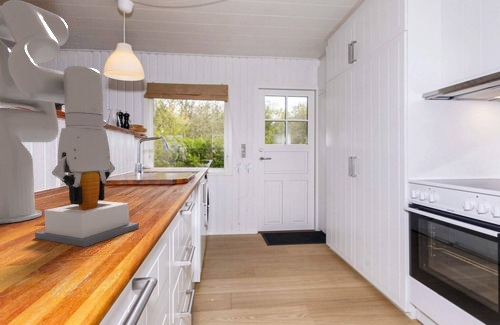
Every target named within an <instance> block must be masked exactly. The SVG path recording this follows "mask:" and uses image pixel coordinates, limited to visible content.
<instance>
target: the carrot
mask: <svg viewBox="0 0 500 325" xmlns="http://www.w3.org/2000/svg"><path fill="white" fill-rule="evenodd" d="M79 186H80V187H82V199H83V203H82V204H81V205H79V207H80V209H81V210H83V211H86V210H90V209H95V208H96V207H97V204H98V201H99V200H98V199H99V187H100V179H99V174H98V173H97V172H87V173H82V175H81V179H80V184H79Z"/></svg>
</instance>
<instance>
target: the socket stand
mask: <svg viewBox="0 0 500 325" xmlns="http://www.w3.org/2000/svg"><path fill="white" fill-rule="evenodd" d="M129 205H130V204H129V203H127V202H116V201H114V202H113V201H106V200H105V201H104V200H98V204H97V207H96V208H95V209H90V210H86V211H83V210H81V209H80V207H79V205H75V204H70V205H64V206H59V207H58V206H57V207H54V208H53V207H51V208H48V209H44V226H45V227H44V228H45V229H44V230H41V231H40V230H39V231H36V232H34V239H36V240H37V239H38V240H44V241H49V242H56V243H60V244H65V245H66V244H67V245H71V246H72V245H73V246H76V247H83V248H86V247H89V246H91V245H95V244H97V243H101V242H103V241H106V240H108V239H113V238H115V237H117V236H120V235H123V234H126V233H129V232H131V231H135V230H138V229H140V224H139V223H140V222H131V221H130V206H129Z"/></svg>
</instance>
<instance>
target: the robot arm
mask: <svg viewBox="0 0 500 325" xmlns="http://www.w3.org/2000/svg"><path fill="white" fill-rule="evenodd" d="M68 38H69V28H68V25H67V23H66V22H65V20H64V19H63V18H62V17H61V16H60V15H58V14H56V13H53V12H52V11H49V10H46V9H45V8H41V7H39V6H37V5H34V4H32V3H30V2H27V1H24V0H7V1H5V2H3V4H1V5H0V106H6V107H0V224H10V223H17V222H24V221H28V220H29V221H30V220H32V219H36V218H40V217H41V216H42V215H43V214H42V213H43V211H42V210H38V209H36V201H35V198H36V196H35V182H34V181H35V180H34V163H33V162H34V161H33V156H32V154H31V152H30V151H29V150H28V148H27V147H26V146H25V145H24V144H23V143H51V142H53V141H55V140H56V139H57V138H58V135H59V139H58V146H57V147H58V148H57V165H56V166H55V167H54V168H53V170H52V172H51V174H52V175H53V176H55V177H56V178H58V179H59V180H61V182H63V183H64V184H65V185H66V187H68V197H69V198H68V199H69V202H70V205H73V204H75V205H81V204H82V203H83V199H82V187H80V186H79V184H80V179H81V175H82V173H87V172H97V173H98V174H99V179H100V187H99V199H98V201H104V200H105V184H106V183H107V181H108V178H110V176H111V175H112V173H113V172H114V171H115V170H116V167H115V166H114V164H113V163H112V161H111V153H110V145H109V138H108V134H107V131H106V129H105V128H104V126H107V120H105V119H104V103H103V101H104V100H103V99H104V98H103V97H104V95H103V78H102V73H101V72H100V71H99V70H97V69H95V68H92V67H89V66H83V65H70V66H66V67H65V69H64V70H58V69H54V68H49V67H45V66H41V65H39V64H44V63H49V62H51V61H53V60H54V59H56V58H57V57H58V55H59V53H60V47H62V46H64V45H65V44H66V43H67V41H68ZM1 39H3V40H6V41H10V42H13V43H16V44H14V46H13V47H12V48H9V47H8V46H7V45H6V44H5V43H4V42H3V41H2V40H1ZM37 64H38V65H37ZM55 103H56V104H62V105H64V122H65V127H62V128H61V130H60V134H59V128H60V127H59V121H58V115H57V114H58V113H57V110H56V104H55ZM7 106H9V107H7ZM11 107H12V108H11ZM13 107H16V108H13ZM20 108H21V109H20ZM22 108H25V109H22ZM29 109H30V110H29Z"/></svg>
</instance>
